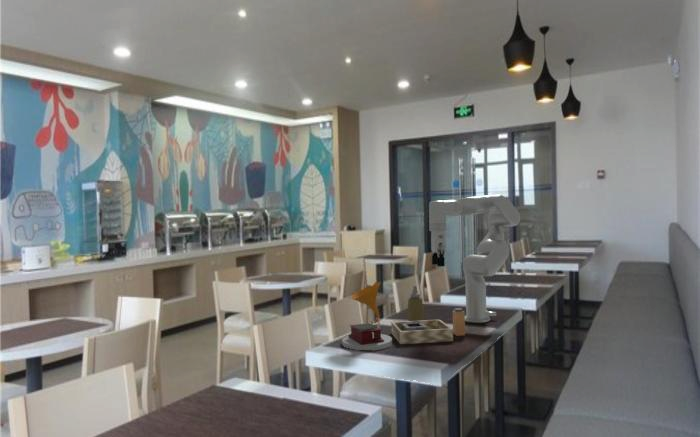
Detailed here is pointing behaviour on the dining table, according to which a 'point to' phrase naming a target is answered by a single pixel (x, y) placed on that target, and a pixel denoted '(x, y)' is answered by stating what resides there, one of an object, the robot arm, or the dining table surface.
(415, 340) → the box
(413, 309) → the squeeze bottle
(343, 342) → the gramophone
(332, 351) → the dining table surface
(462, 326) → the orange canister
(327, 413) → the dining table surface
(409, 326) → the socket
